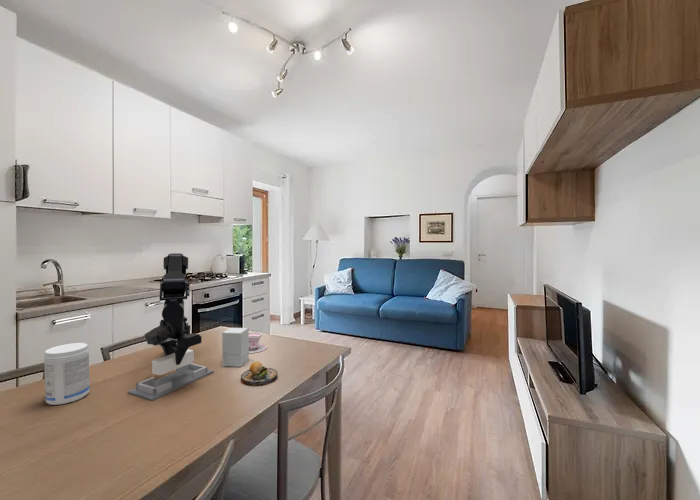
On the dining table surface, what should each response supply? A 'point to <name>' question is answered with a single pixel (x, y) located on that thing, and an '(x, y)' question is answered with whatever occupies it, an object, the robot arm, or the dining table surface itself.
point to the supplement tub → (66, 373)
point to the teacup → (255, 342)
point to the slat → (171, 362)
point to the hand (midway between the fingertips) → (174, 363)
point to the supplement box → (235, 347)
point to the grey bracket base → (169, 382)
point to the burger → (258, 375)
